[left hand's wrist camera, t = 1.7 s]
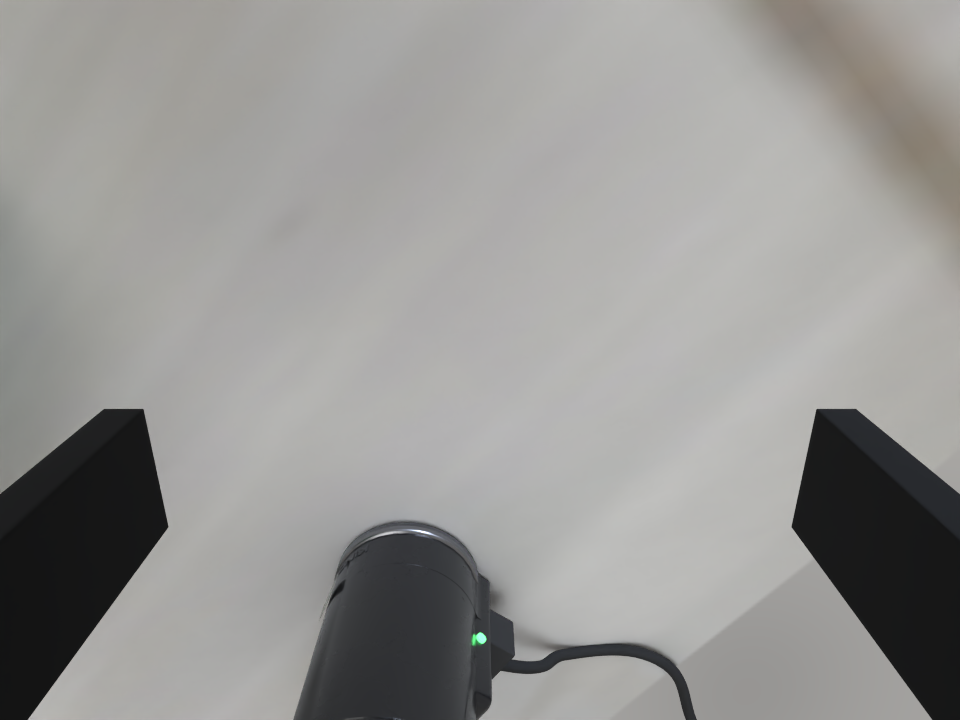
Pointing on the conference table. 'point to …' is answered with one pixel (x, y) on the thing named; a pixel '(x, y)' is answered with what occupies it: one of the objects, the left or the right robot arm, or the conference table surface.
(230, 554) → the conference table surface
